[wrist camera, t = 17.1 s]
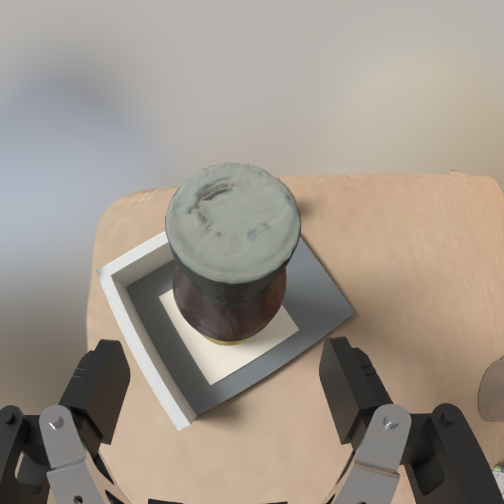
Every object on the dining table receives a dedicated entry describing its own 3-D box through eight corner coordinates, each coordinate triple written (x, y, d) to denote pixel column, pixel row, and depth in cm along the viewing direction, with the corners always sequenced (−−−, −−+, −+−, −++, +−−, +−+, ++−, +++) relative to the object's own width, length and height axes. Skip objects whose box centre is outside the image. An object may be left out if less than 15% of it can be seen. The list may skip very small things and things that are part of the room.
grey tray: (268, 201, 33) (273, 175, 28) (351, 314, 28) (371, 303, 24) (115, 285, 28) (96, 270, 23) (188, 419, 23) (178, 430, 19)
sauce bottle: (194, 285, 27) (142, 130, 9) (257, 282, 28) (311, 126, 10) (196, 351, 25) (115, 313, 6) (263, 348, 25) (353, 302, 7)
